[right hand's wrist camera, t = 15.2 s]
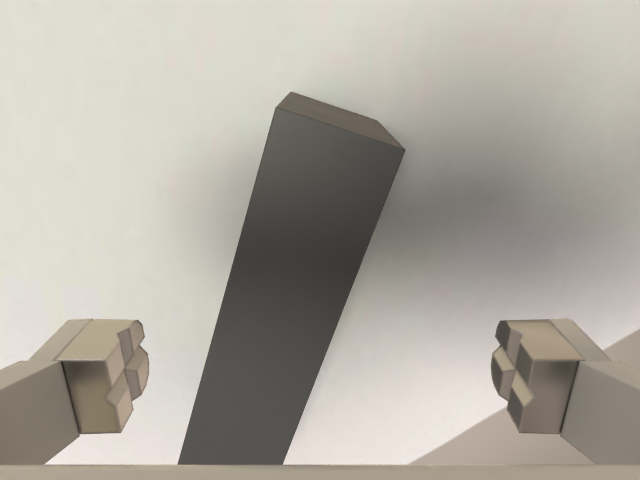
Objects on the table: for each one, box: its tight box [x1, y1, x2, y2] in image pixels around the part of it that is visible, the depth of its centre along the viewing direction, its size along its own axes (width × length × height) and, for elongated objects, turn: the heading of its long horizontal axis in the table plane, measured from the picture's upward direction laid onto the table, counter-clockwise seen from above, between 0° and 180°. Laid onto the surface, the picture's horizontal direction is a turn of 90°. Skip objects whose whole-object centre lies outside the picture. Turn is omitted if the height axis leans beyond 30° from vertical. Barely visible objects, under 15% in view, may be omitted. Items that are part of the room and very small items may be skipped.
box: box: [178, 92, 405, 465], centre depth 30 cm, size 28×6×11 cm, turn 162°
